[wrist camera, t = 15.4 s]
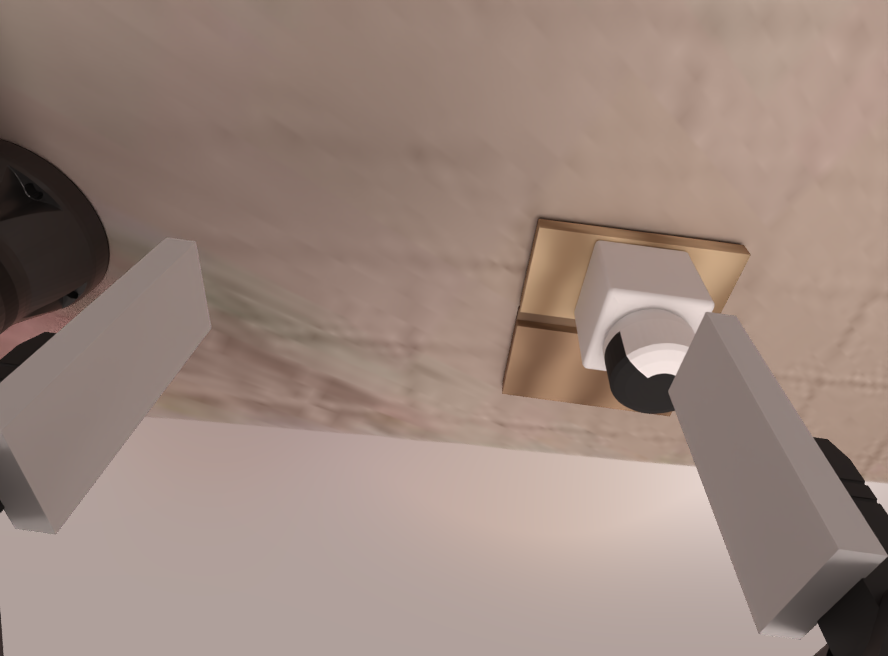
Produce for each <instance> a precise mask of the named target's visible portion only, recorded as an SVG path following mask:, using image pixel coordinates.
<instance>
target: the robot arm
mask: <svg viewBox="0 0 888 656" xmlns="http://www.w3.org/2000/svg"><path fill="white" fill-rule="evenodd" d="M108 260H109V251H108V244H107V239H106V235H105V232H104V230H103V227H102V225H101V223H100V220H99V218H98V217H97V215H96V213H95V211H94V210H93V208H92V207H91V205H90V204H89V202H88V201H87V199H86V198H85V197H84V196H83V194H82V193H81V192H80V191H79V190H78V189H77V187H76V186H75V185H74V184H73V183H72V182H71V181H70V180H69V179H68V178H67V177H65V176H64V175H63V174H62V173H61V172H60V171H58V170H57V169H56V168H55V167H53V166H52V165H51V164H49V163H48V162H46V161H45V160H43V159H42V158H40V157H39V156H37V155H35V154H33V153H32V152H30V151H28V150H26V149H24V148H22V147H19V146H17V145H15V144H12V143H9V142H6V141H3V140H0V334H1V333H2V332H4V331H5V330H6V329H7V328H9V327H10V326H12V325H13V324H16V323H19V322H22V321H25V320H28V319H31V318H34V317H37V316H40V315H44V314H47V313H50V312H53V311H56V310H59V309H62V308H65V307H67V306H70V305H72V304H74V303H76V302H77V301H79V300H81V299H82V298H83V297H84V296H85V295H87V294H88V293H89V292H90V291H91V290H93V289H94V288H95V287H96V286H97V285H98V284H99V283H100V282H101V280H102V279H103V277H104V275H105V273H106V270H107V267H108ZM210 329H211V322H210V317H209V311H208V305H207V300H206V294H205V289H204V283H203V277H202V272H201V266H200V261H199V255H198V249H197V244H196V241H190V240H183V239H176V238H168V237H166V238H165V239H164V240H163V241H162V242H161V243H159V244H158V245H157V246H156V247H155V248H154V249H153V250H151V251H150V252H149V253H148V254H147V255H146V256H145V257H143V258H142V259H141V260H140V261H139V262H138V263H137V264H135V265H134V266H133V267H132V268H131V269H130V270H129V271H127V272H126V273H125V274H124V275H123V276H122V277H121V278H119V279H118V280H117V281H116V282H115V283H114V284H113V285H111V286H110V287H109V288H108V289H107V290H106V291H105V292H103V293H102V294H101V295H100V296H99V297H98V298H97V299H95V300H94V301H93V302H92V303H91V304H90V305H89V306H87V307H86V308H85V309H84V310H83V311H82V312H81V313H79V314H78V315H77V316H76V317H75V318H74V319H73V320H71V321H70V322H69V323H68V324H67V325H66V326H65V327H63V328H62V329H61V330H60V331H59V332H58V333H50V332H44V333H42V334H40V335H38V336H36V337H34V338H32V339H30V340H28V341H25V342H23V343H21V344H19V345H18V346H16V347H15V348H14V349H13V350H12V351H10V352H9V353H8V354H7V355H6V356H4V357H3V358H2V359H1V360H0V512H2V511H3V509H4V511H5V512H6V514H7V516H8V517H9V519H10V520H11V522H12V524H13V526H14V527H15V529H22V530H29V531H36V532H43V533H50V534H57V532H58V531H59V529H60V528H61V527H62V526H63V524H64V523H65V522H66V520H67V519H68V518H69V516H70V515H71V514H72V512H73V511H74V510H75V508H76V507H77V506H78V504H79V503H80V502H81V500H82V499H83V498H84V497H85V495H86V494H87V493H88V491H89V490H90V488H91V487H92V486H93V485H94V483H95V482H96V480H97V479H98V478H99V477H100V475H101V474H102V473H103V471H104V470H105V469H106V467H107V466H108V465H109V463H110V462H111V461H112V459H113V458H114V457H115V455H116V454H117V452H118V451H119V450H120V449H121V447H122V446H123V445H124V443H125V442H126V441H127V440H128V438H129V437H130V436H131V434H132V433H133V432H134V430H135V429H136V428H137V426H138V425H139V424H140V422H141V421H142V420H143V418H144V417H145V416H146V414H147V413H148V412H149V410H150V409H151V408H152V406H153V405H154V404H155V402H156V401H157V400H158V398H159V397H160V396H161V394H162V393H163V392H164V390H165V389H166V388H167V386H168V385H169V384H170V383H171V381H172V380H173V379H174V377H175V376H176V375H177V373H178V372H179V371H180V369H181V368H182V367H183V365H184V364H185V363H186V361H187V360H188V359H189V357H190V356H191V355H192V353H193V352H194V351H195V349H196V348H197V347H198V345H199V344H200V343H201V341H202V340H203V339H204V337H205V336H206V335H207V333H208V332H209V331H210ZM668 393H669V396H670V398H671V401H672V404H673V406H674V409H675V412H676V414H677V417H678V420H679V422H680V425H681V428H682V430H683V433H684V436H685V438H686V441H687V444H688V446H689V449H690V452H691V454H692V457H693V460H694V462H695V465H696V468H697V470H698V473H699V476H700V478H701V481H702V484H703V486H704V489H705V492H706V494H707V497H708V499H709V502H710V505H711V507H712V510H713V513H714V516H715V518H716V521H717V523H718V526H719V529H720V531H721V534H722V537H723V540H724V542H725V545H726V548H727V550H728V553H729V555H730V558H731V561H732V564H733V566H734V569H735V571H736V574H737V577H738V579H739V582H740V585H741V588H742V590H743V593H744V595H745V598H746V601H747V603H748V606H749V609H750V611H751V614H752V617H753V619H754V622H755V625H756V627H757V630H758V633H759V634H763V635H770V636H777V637H784V638H792V639H799V640H801V638H803V637H804V636H805V635H806V634H807V633H808V632H809V631H810V630H811V629H812V628H813V627H814V626H815V625H816V624H817V623H818V625H819V627H820V629H821V631H822V633H823V635H824V637H825V639H826V642H827V644H826V645H825V646H824V647H823V648H822V649H820V650H819V651H818V652H817V653H816V654H815V655H814V656H888V514H887V513H886V512H885V510H884V509H883V507H882V506H881V504H878V503H877V498H876V497H875V495H874V494H873V492H872V491H871V489H870V488H869V487H868V486H866V485H865V484H864V483H865V481H864V479H863V478H862V476H861V475H860V473H859V472H858V470H857V469H856V467H855V466H854V464H853V463H852V461H851V460H850V459H849V458H848V457H847V456H846V455H845V454H843V453H842V452H841V451H840V450H839V449H838V448H837V447H836V446H835V445H833V444H832V443H831V442H830V441H829V440H828V439H822V438H815V437H812V435H811V433H810V432H809V430H808V429H807V427H806V425H805V424H804V422H803V421H802V419H801V418H800V416H799V414H798V413H797V411H796V410H795V408H794V407H793V405H792V403H791V402H790V400H789V399H788V397H787V396H786V394H785V392H784V391H783V389H782V388H781V386H780V385H779V383H778V381H777V380H776V378H775V377H774V375H773V373H772V372H771V370H770V369H769V367H768V366H767V364H766V362H765V361H764V359H763V358H762V356H761V355H760V353H759V351H758V350H757V348H756V347H755V345H754V344H753V342H752V340H751V339H750V337H749V336H748V334H747V333H746V331H745V329H744V328H743V326H742V325H741V323H740V321H739V320H738V318H737V317H736V316H734V315H727V314H720V313H712V312H705V315H704V317H703V319H702V321H701V323H700V325H699V327H698V329H697V331H696V334H695V336H694V338H693V340H692V342H691V344H690V346H689V348H688V350H687V352H686V355H685V357H684V359H683V361H682V363H681V365H680V367H679V369H678V371H677V374H676V376H675V378H674V380H673V382H672V384H671V386H670V388H669V390H668ZM0 656H4V655H3V642H2V628H1V614H0Z"/></svg>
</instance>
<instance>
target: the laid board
mask: <svg viewBox="0 0 888 656" xmlns="http://www.w3.org/2000/svg"><path fill="white" fill-rule="evenodd" d="M502 394H508V395H516V396H523V397H531V398H538V399H545V400H553V401H560V402H568V403H575V404H582V405H590V406H597V407H605V408H612V409H620V410H627V411H634V412H638V411H635V410H632V409H630V408H627V407H625V406H624V405H622V404H621V403H620V402H618V401H617V400H616V398H615V397H614V396H613V394H612V392H611V389H610V385H609V380H608V375H607V371H602V370H595V369H587V368H585V367H584V366H583V364H582V358H581V352H580V346H579V340H578V333H577V327H576V321H575V319H570V318H563V317H555V316H548V315H540V314H533V313H525V312H520V306H519V309H518V313H517V318H516V322H515V327H514V332H513V336H512V341H511V346H510V350H509V355H508V360H507V364H506V369H505V374H504V378H503V383H502ZM671 413H672V411H671V412H667V413H659V414H657V415H664V416H670V415H671Z"/></svg>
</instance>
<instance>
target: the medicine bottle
mask: <svg viewBox="0 0 888 656" xmlns="http://www.w3.org/2000/svg"><path fill="white" fill-rule="evenodd" d="M713 309H714V302H713V300H712V298H711V296H710V294H709V292H708V290H707V288H706V286H705V285H704V283H703V281H702V279H701V277H700V275H699V273H698V271H697V269H696V267H695V265H694V263H693V261H692V259H691V258H690V256H689V254H688V253H687V252H685V251H678V250H670V249H662V248H655V247H647V246H640V245H632V244H624V243H617V242H609V241H602V240H600V241H597V242H596V243H595V246H594V249H593V253H592V256H591V259H590V262H589V266H588V269H587V272H586V275H585V279H584V282H583V285H582V288H581V292H580V295H579V298H578V302H577V305H576V308H575V311H574V315H575V321H576V327H577V333H578V340H579V346H580V352H581V358H582V364H583V366H584V367H585V368H587V369H595V370H602V371H607V375H608V380H609V385H610V389H611V392H612V394H613V396H614V397H615V398H616V400H617V401H618V402H620V403H621V404H622V405H624V406H625V407H627V408H630V409H632V410H635V411H638V412H642V413H648V414H659V413H667V412H671V411H675V409H674V406H673V404H672V401H671V398H670V396H669V393H668V390H669V388H670V386H671V384H672V382H673V380H674V378H675V376H676V374H677V371H678V369H679V367H680V365H681V363H682V361H683V359H684V357H685V355H686V352H687V350H688V348H689V346H690V344H691V342H692V340H693V338H694V336H695V334H696V331H697V329H698V327H699V325H700V323H701V321H702V319H703V317H704V315H705V312H712V311H713Z"/></svg>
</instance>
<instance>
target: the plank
mask: <svg viewBox="0 0 888 656" xmlns="http://www.w3.org/2000/svg"><path fill="white" fill-rule="evenodd" d="M600 240H602V241H609V242H617V243H624V244H632V245H640V246H647V247H655V248H662V249H670V250H678V251H685V252H687V253H688V254H689V256H690V258H691V259H692V261H693V263H694V265H695V267H696V269H697V271H698V273H699V275H700V277H701V279H702V281H703V283H704V285H705V286H706V288H707V290H708V292H709V294H710V296H711V298H712V300H713V302H714V309H713V311H712V313H720V314H721V312H722V310H723V308H724V306H725V304H726V302H727V300H728V298H729V296H730V294H731V292H732V290H733V288H734V286H735V284H736V282H737V280H738V279H739V277H740V275H741V273H742V271H743V269H744V267H745V265H746V263H747V261H748V259H749V257H750V253H749V252H748V250H747V249H746V248H745V246H744V245H739V244H731V243H723V242H715V241H708V240H700V239H692V238H684V237H677V236H669V235H661V234H653V233H646V232H638V231H630V230H622V229H615V228H607V227H599V226H591V225H584V224H576V223H568V222H560V221H553V220H545V219H538V224H537V228H536V233H535V237H534V242H533V246H532V250H531V255H530V259H529V264H528V268H527V273H526V277H525V282H524V286H523V291H522V295H521V300H520V312H525V313H533V314H540V315H548V316H555V317H563V318H570V319H575V315H574V311H575V308H576V305H577V302H578V298H579V295H580V292H581V288H582V285H583V282H584V279H585V275H586V272H587V269H588V266H589V262H590V259H591V256H592V253H593V249H594V246H595V243H596V242H597V241H600Z"/></svg>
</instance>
